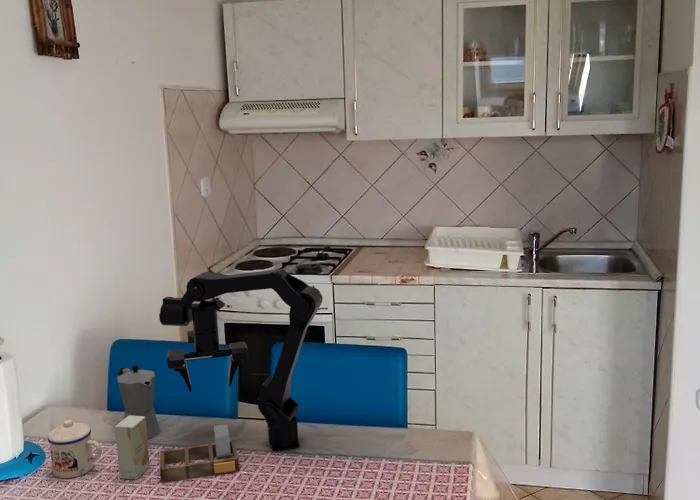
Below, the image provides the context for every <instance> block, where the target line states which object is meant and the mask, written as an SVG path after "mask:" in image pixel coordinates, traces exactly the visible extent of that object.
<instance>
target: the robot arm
mask: <svg viewBox="0 0 700 500" xmlns="http://www.w3.org/2000/svg"><path fill="white" fill-rule="evenodd" d="M269 289H270V290H271V289H272V291H274V292H275V293H276V294H277V295H278V297H279V298H280V300H282V301H283V303H284V304H286V305H287V306H288V307H289V313H288V315H289V316H288V317H289V327H288V330H287V333H286V336H285V339H284V342H283V345H282V348H281V351H280V355H279V356H278V357H279V358H278V360H277V363H276V367H275V370H274V373H273V375H272V377H271V376H268V377H267V378H266V380H265V381H264V382H263V384H261V386H260V391H259V395H258V397H257V399H256V400H255V402H258V403H257V409H258V411H259V412H260V414H261V415H262V416H263V418H264V419H265V420H264V421H265V422H266V424H267V426H266V428H267V429H266V430H267V442H268V445H269V446H270V447H271V450H272V452H277V451H278V452H279V451H285V450H291V449H297V448H300V447H301V444H300V442H299V431H298V429H299V427H298V418H297V416H296V414H298V412H299V409H300V408H299V407H300V404H299V403H298V402H297V401H295V399H293V397H291V390H292V386H291V385H292V384H291V379H292V377H293V376H292V375H293V373H294V370H295V366H296V363H297V362H298V357H299V356H300V355H299V354H300V352H301V348H302V345H303V343H304V340H305V336H306V334H307V330H308V328H309V327H310V324H311V322H312V321H313V319H314V318H315V316H316V314H317V312H318V311H319V309H320V307H321V305H322V303H323V299H324V298H323V295H322V293H321V291H320V290H319V288H316V287H314V286H310V285H309V284H307V283H306V282H305V281H303V280H302V279H299V278H297V277H296V276H294V275H292V274H290V273H289V272H288V271H286V269H284V268H276V269H271V270H269V269H268V270H261V271H252V272H244V273H243V272H242V273H236V274H235V273H233V274H232V273H231V274H227V273H226V274H225V273H221V272H213V271H212V272H211V271H204V272H201V273H200V274H198V275H195V276H193V277H192V278H191V279H189V280H188V282H187V283H186V291H185V293H184V294H183V295H182V297H173V296H166V297H163V298H162V305H160V306H161V307H160V310H159V314H158V317H159V322H160V324H161V326H170V327H171V326H172V327H187V326H188V325H190V323H192V328H193V330H187V331H186V334H187V344H188V345H192V344H193V347H194V351H190V352H185V351H184V350H185V349H184V348H177V349H175V348H174V349H168V351H167V352H166V363H167V369H173V371H174V372H178V373H179V374H180V376H181V377H182V378H183V381H184V383H185V384H186V387H187V389H188V391H189V392H191V393H192V391H193V390H192V383H191V379H190V378H191V377H190V374H189V370H188V364H187V362H189V361H197V360H206V359H216V358H223V357H224V358H225V357H228V378H227V380H228V381H227V382H228V387H229V388H230V387H231V386H232V384H233V380H234V377H235V374H236V372H237V369H238V368H239V366H240V365H241V364H243V363H244V361H246V360H248V359H249V349H248V345H247V343H246V342H245V341H238V342H230V343H229V347H224V348H220V347H221V346H220V338H219V336H220V335H219V322H218V311H219V310H221V309H223V308H224V307H225V306H226V303H225V302H224V301H222V300H221V299H220V298H219V297H220V296H222V295H225V294H230V293H241V292H250V291H259V290H260V291H261V290H269ZM211 299H213V300H211ZM194 302H196V303H194ZM197 302H198V303H197Z"/></svg>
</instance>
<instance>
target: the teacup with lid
mask: <svg viewBox="0 0 700 500" xmlns="http://www.w3.org/2000/svg"><path fill="white" fill-rule="evenodd" d="M91 433H92V428H91V427H90V426H89V425H88V424H86V423H81V422H74V421H73V420H72V419H66V420H64V421H63V423H62V424H61V425H60V426H58V427H55V428H54V429H52V430H51V431H50V432H49V433H48V435H47V441H48V442H49V443H48V445H49V452H50V459H51V460H50V461H51V467H52V473H53V475H54V476H55V477H57V478H60V479H73V478H76V477H81V476H83V475H85V474H87V473H88V472H90V471H91V470H92V469H93V467H94V465H95V463H94V462H97V461H98V460H99V459H100V458H101V456H102V454H103V449H102V445H101V443H99V442H98V441H97V440H92V437H91V435H92V434H91ZM93 447H94V448H95V449H96V456H94V454H93Z"/></svg>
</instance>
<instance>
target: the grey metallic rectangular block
mask: <svg viewBox="0 0 700 500" xmlns="http://www.w3.org/2000/svg"><path fill="white" fill-rule="evenodd" d="M213 432H214V434H213V435H214V443H215V449H216V457H215V458H216V459H215V460H219V459H226V458H232V454H231V453H230V441H231V439H230V432H229V428H228V424H227V423H226V424H218V425H213Z"/></svg>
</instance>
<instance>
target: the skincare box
mask: <svg viewBox="0 0 700 500" xmlns="http://www.w3.org/2000/svg"><path fill="white" fill-rule="evenodd" d="M114 432H115V434H114V435H115V443H116V444H115V445H116V453H117V461H118V472H119V474H118V476H119V478H120V479H124V480H125V479H129V480H138V479H139V478H140V477H141V476H142V475H143V474H144V473H145V472H146V471H147V470H148V469H149V468H150V466H151V465H150V456H149V445H148V443H149V442H148V439H147V430H146V419H145V416H131V415H129V416H127V417H126V418H125V419H124V418H123V419H122V420H121V421H120V422H119V423H118V424H116V425H115V426H114Z"/></svg>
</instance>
